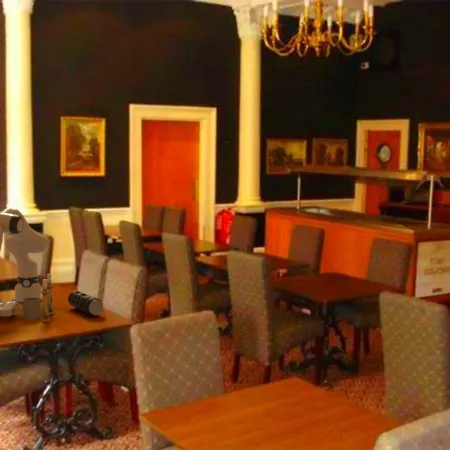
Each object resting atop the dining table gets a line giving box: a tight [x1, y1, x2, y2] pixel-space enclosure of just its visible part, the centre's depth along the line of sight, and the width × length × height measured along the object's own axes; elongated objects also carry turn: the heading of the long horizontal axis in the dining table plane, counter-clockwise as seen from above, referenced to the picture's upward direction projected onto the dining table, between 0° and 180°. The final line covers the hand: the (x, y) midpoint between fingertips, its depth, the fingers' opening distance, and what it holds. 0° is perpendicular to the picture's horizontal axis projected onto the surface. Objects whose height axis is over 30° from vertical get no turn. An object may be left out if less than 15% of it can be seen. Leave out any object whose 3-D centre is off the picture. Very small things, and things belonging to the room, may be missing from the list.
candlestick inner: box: [46, 273, 55, 316], centre depth 376 cm, size 4×4×22 cm
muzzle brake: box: [67, 290, 104, 317], centre depth 380 cm, size 10×28×10 cm, turn 35°
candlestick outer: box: [40, 278, 51, 323], centre depth 360 cm, size 4×4×22 cm
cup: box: [23, 297, 41, 321], centre depth 368 cm, size 8×8×10 cm
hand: (23, 308), depth 367 cm, fingers closed
